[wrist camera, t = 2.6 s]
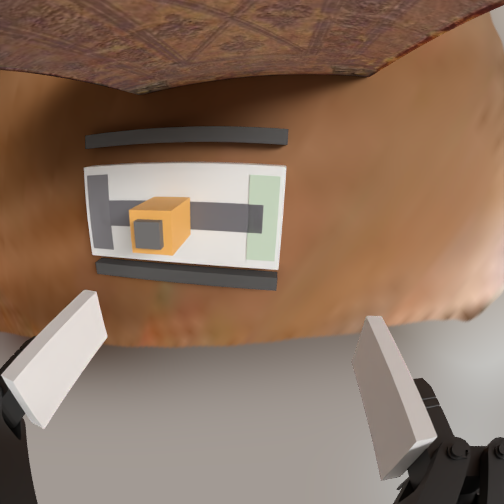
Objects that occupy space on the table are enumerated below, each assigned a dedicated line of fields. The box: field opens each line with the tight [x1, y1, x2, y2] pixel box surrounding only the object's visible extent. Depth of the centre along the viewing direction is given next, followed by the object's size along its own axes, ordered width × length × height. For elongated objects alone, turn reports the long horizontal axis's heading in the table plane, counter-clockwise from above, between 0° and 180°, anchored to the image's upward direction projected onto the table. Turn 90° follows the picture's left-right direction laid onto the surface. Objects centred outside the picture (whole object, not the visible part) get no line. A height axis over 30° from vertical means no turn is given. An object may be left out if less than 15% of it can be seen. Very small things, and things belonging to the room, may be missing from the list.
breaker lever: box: [129, 197, 191, 256], centre depth 26 cm, size 4×4×7 cm
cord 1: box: [85, 126, 288, 149], centre depth 28 cm, size 2×23×2 cm, turn 87°
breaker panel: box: [84, 162, 286, 270], centre depth 31 cm, size 11×23×2 cm, turn 87°
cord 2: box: [96, 258, 277, 291], centre depth 34 cm, size 2×23×2 cm, turn 87°
